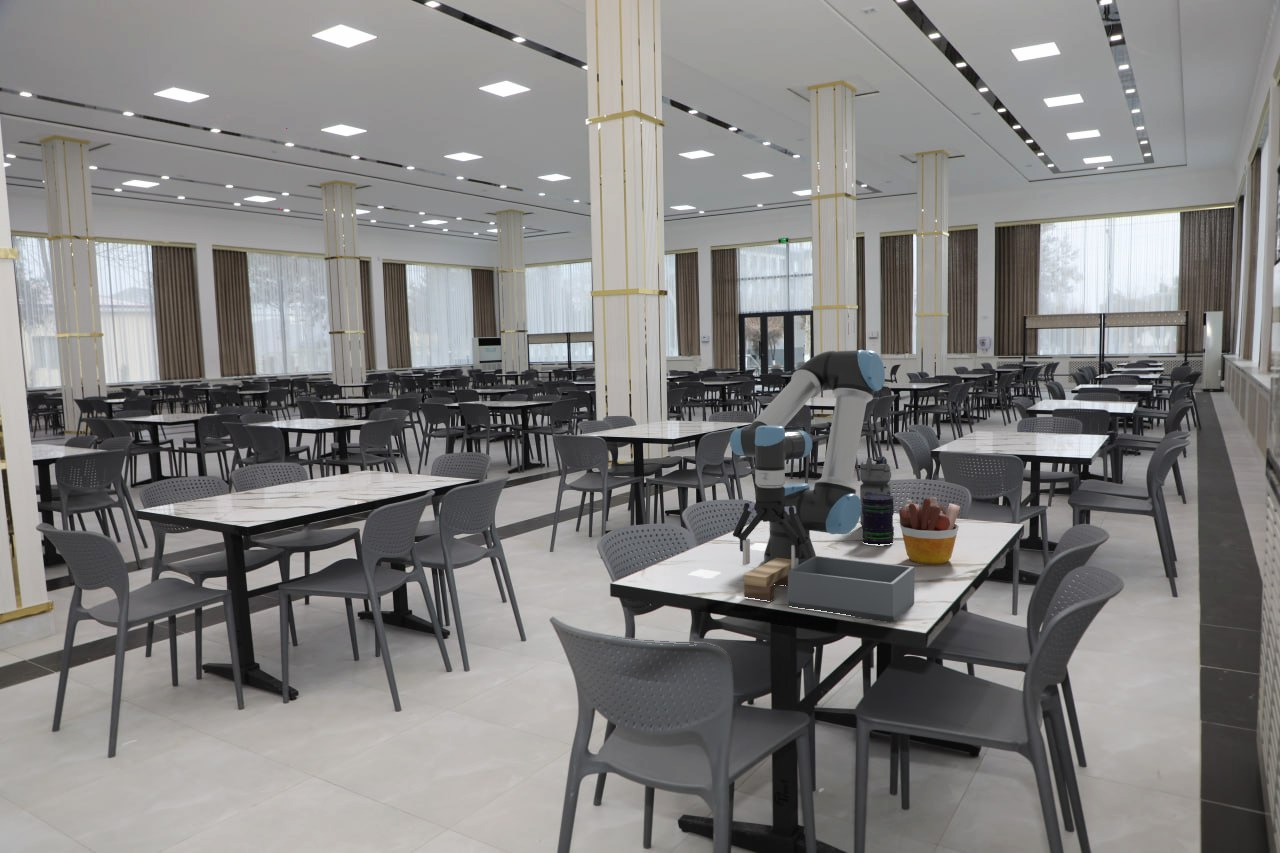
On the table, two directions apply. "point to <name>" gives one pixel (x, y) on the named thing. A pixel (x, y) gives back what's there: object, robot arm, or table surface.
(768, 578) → the shelf board
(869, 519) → the storage jar
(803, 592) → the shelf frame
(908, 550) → the bucket of meat
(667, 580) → the table surface
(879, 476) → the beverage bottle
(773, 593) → the wooden blocks
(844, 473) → the robot arm
